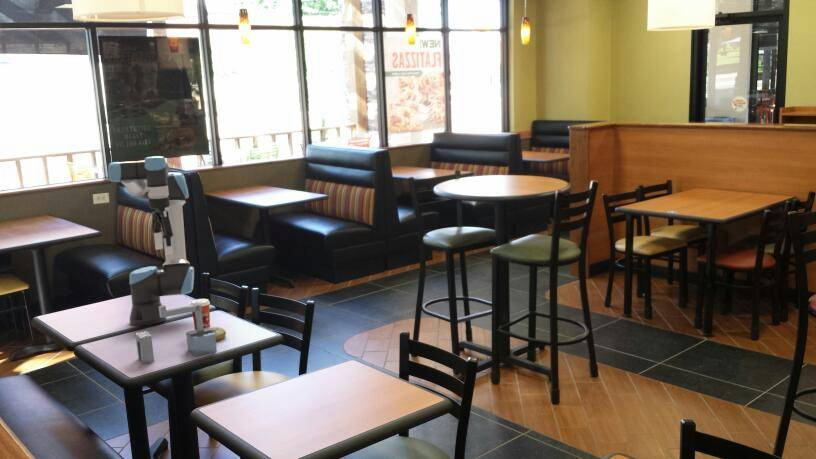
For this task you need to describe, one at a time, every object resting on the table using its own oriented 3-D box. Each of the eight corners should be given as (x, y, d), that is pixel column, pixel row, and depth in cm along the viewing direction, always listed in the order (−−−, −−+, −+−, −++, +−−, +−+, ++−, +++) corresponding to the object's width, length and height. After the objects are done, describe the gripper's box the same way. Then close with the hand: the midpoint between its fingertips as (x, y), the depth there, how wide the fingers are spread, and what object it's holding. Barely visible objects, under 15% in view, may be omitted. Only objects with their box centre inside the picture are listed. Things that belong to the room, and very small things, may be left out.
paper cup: (209, 336, 296) (206, 303, 294) (190, 337, 296) (187, 303, 294) (215, 330, 304) (212, 297, 301) (196, 331, 304) (193, 298, 302)
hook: (138, 359, 273) (135, 333, 272) (149, 356, 276) (146, 331, 274) (143, 364, 268) (140, 337, 266) (154, 361, 270) (151, 335, 268)
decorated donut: (194, 339, 295) (193, 330, 294) (219, 333, 301) (219, 324, 301) (204, 345, 287) (203, 335, 286) (230, 338, 293) (229, 329, 292)
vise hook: (161, 355, 276) (155, 303, 273) (208, 344, 286) (204, 295, 283) (168, 362, 268) (163, 309, 265) (217, 351, 278) (212, 300, 274)
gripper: (140, 195, 289) (145, 248, 292) (157, 201, 268) (163, 258, 272) (159, 193, 293) (164, 245, 296) (178, 199, 272) (183, 255, 276)
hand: (164, 251), depth 284 cm, fingers open, 13 cm apart
